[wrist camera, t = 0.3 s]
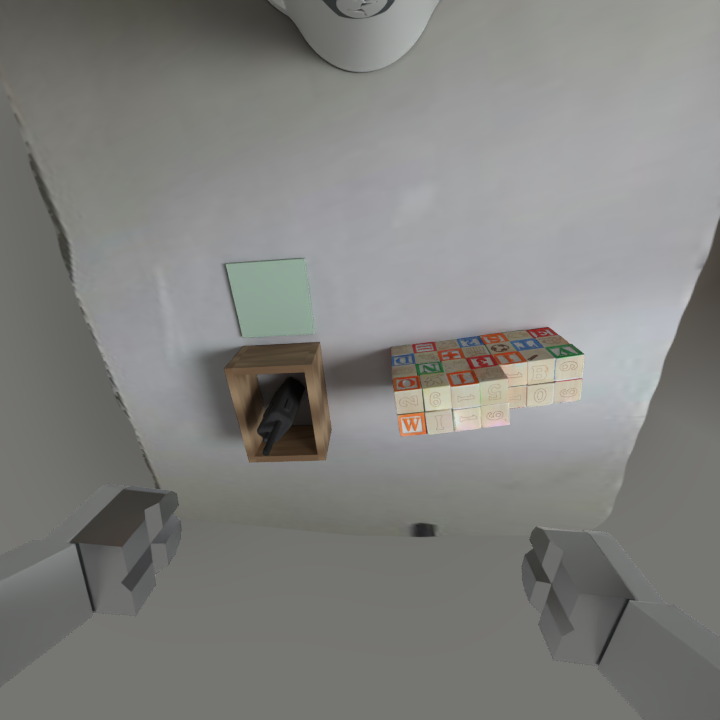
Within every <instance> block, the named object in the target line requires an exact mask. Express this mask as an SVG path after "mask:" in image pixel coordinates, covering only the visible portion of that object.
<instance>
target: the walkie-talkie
mask: <svg viewBox="0 0 720 720" xmlns="http://www.w3.org/2000/svg"><path fill="white" fill-rule="evenodd" d="M304 390H305V386H304V385H303V384H301V383H300V382H298V381H297V380H296V379H294V378H292V377H289V378H287V379H286V380H285V381H284V383H283V384H282V385H281V386H280V388H279V389H278V390H277V391H276V393H275V395H274V397H273V399H272V401H271V403H270V405H269V407H268V408H267V409H266V411H265V412H264V414H263V419H262V421H261V423H260V425H259V427H258V429H257V433H258V435H260V436H261V437H263V442H265V443H266V445H265V447H264V449H263V452H262V454H263V455H264V456H268V455H269V454H270V451H271V449H272V446H273V444H274V443H276V442H278V441H279V440H280V438H281V437H282V436H283V435H284V434H285V433H286V431H287V430H288V429H289V428H290V427H291V426H292V423H293V421H294V418H295V415H296V412H297V410H298V407H299V404H300V401H301V398H302V396H303V393H304Z"/></svg>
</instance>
